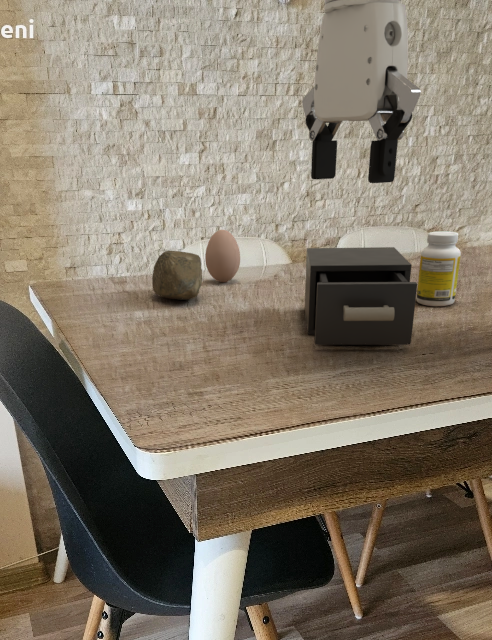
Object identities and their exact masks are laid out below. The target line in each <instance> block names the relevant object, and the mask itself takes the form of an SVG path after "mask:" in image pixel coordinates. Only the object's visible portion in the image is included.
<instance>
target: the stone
mask: <svg viewBox="0 0 492 640" xmlns="http://www.w3.org/2000/svg"><path fill="white" fill-rule="evenodd" d="M151 279H152V282H151V283H152V284H151V285H152V290H153V292H154V293H155V294H156V295H157V296H159V297H161V298H165V299H168V300H178V301H179V300H183V301H184V300H191V299H194V298H197V296H198V295H199V293H200V289H201V287H202V284H203V283H202V282H203V269H202V259H201V256H200V255H199V254H196V253H193V252H186V251H179V250H166V251H164V252H162V253H161V254H160V255H159V256H158V257H157V260H156V262H155V264H154V266H153V271H152V276H151Z"/></svg>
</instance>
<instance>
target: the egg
mask: <svg viewBox="0 0 492 640" xmlns="http://www.w3.org/2000/svg"><path fill="white" fill-rule="evenodd" d="M206 245H207V246H206V249H205V255H204V256H205V259H204V260H205V267H206V270H207V272H208V274H209V275H210V276H211V277H212V278H213V279H214V280H215V281H217V282H219V283H226V282H227V283H228V282H229V281H232V279H234V277H235V276H236V274H237V273H238V271H239V269H240V266H241V250H240V247H239V244H238V242H237V240H236V238H235V236H234V235H233V234H232V233H231V232H230V231H229V230H226V229H218V230H216V231H215V232H214V233H213V234H212V235H211V237H210V238H209V240H208V243H207V244H206Z"/></svg>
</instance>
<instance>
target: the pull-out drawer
mask: <svg viewBox="0 0 492 640" xmlns="http://www.w3.org/2000/svg"><path fill="white" fill-rule="evenodd" d="M417 288H418V282H416V281H410V282H408V281H407V280H406V279H405V277H404V276H403V275H402V274H401V273H400V272H399V271H320V272H317V291H316V315H315V316H316V323H315V335H314V345H316V346H317V345H318V346H322V345H323V346H324V345H327V346H331V345H333V346H335V345H337V346H339V345H341V346H342V345H343V346H345V345H347V346H348V345H350V346H351V345H352V346H354V345H357V346H358V345H360V346H365V345H370V346H373V345H375V346H376V345H377V346H379V345H380V346H382V345H383V346H384V345H385V346H387V345H389V346H390V345H392V346H395V345H396V346H398V345H400V346H402V345H403V346H405V345H406V346H407V345H408V346H410V345H411V344H412V336H413V326H414V318H415V309H416V302H417V300H416V299H417Z"/></svg>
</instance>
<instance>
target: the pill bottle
mask: <svg viewBox="0 0 492 640" xmlns="http://www.w3.org/2000/svg"><path fill="white" fill-rule="evenodd" d="M458 241H459V232H455V231H446V230H442V231H441V230H440V231H439V230H438V231H431V232H428V233H427V238H426V243H427V246H425V247H424V248H423V249H422V250H421V253H420V258H419V259H420V260H419V268H418V279H417V292H416V302H417V303H418V304H420V305H423V306H427V307H447V306H450V305H453V304H454V303H455V302H456V301H455V300H456V294H457V286H458V278H459V271H460V264H461V263H460V262H461V256H462V254H461V250H460V249H459V248H458V246H456V245H457V244H458Z"/></svg>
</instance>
